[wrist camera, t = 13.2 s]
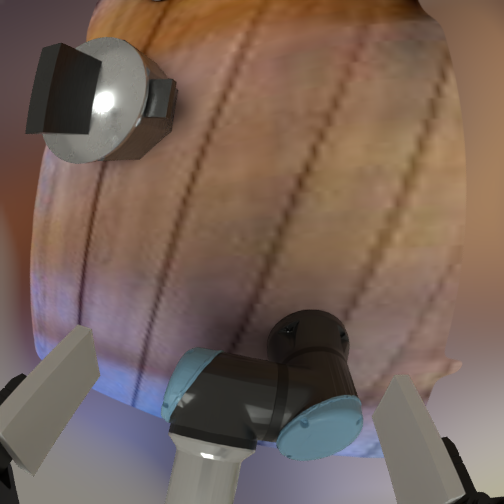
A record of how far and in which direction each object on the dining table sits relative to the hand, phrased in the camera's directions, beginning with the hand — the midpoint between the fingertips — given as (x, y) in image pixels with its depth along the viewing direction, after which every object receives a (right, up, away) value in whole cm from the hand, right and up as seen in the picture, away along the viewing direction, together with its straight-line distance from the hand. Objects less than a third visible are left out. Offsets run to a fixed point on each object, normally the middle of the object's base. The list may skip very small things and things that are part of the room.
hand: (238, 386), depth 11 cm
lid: (-20, +26, +21) cm, 39 cm away
